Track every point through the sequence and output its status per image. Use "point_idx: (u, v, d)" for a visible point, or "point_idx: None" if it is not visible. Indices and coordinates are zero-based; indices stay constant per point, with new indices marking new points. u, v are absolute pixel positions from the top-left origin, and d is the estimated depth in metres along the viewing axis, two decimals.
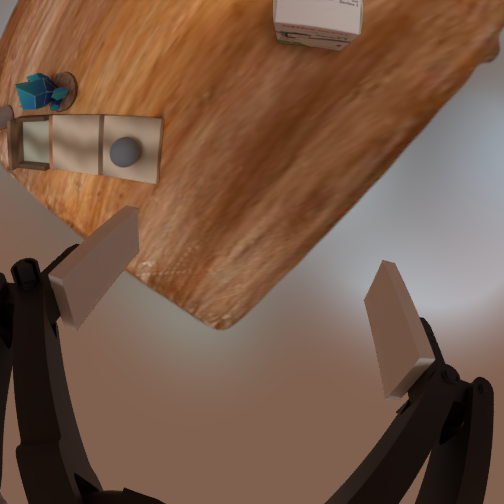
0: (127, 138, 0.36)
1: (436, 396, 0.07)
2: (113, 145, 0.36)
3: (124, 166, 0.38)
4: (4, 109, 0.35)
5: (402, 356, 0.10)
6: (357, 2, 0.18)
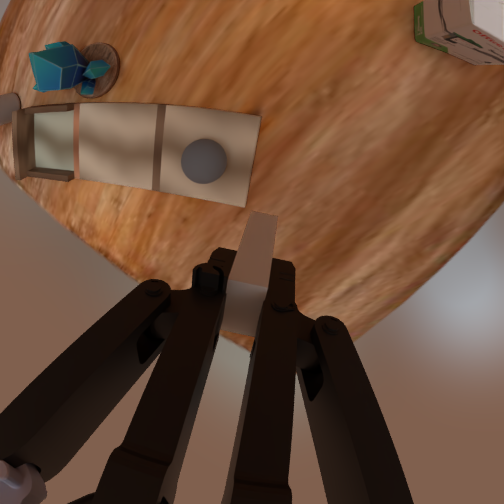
0: (210, 141, 0.26)
1: (274, 331, 0.09)
2: (190, 150, 0.26)
3: (205, 182, 0.27)
4: (8, 97, 0.26)
5: None
6: None
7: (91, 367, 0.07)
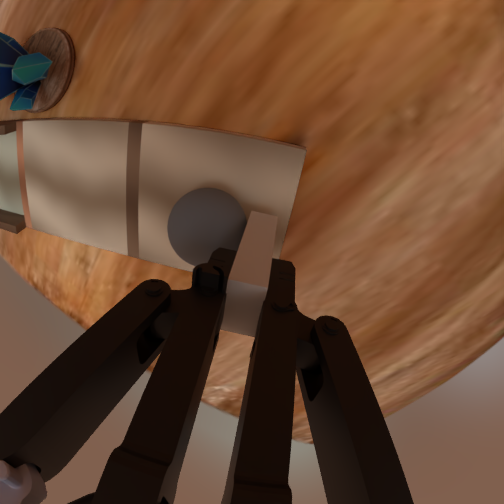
0: (219, 194, 0.15)
1: (274, 331, 0.09)
2: (182, 213, 0.15)
3: None
4: None
5: None
6: None
7: (91, 367, 0.07)
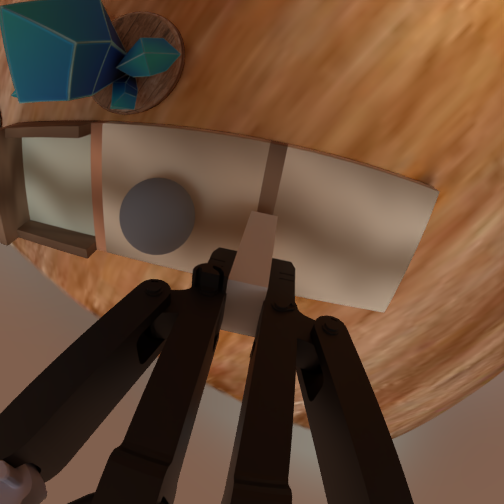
0: (170, 180, 0.16)
1: (274, 331, 0.09)
2: (176, 208, 0.15)
3: None
4: None
5: None
6: None
7: (91, 367, 0.07)
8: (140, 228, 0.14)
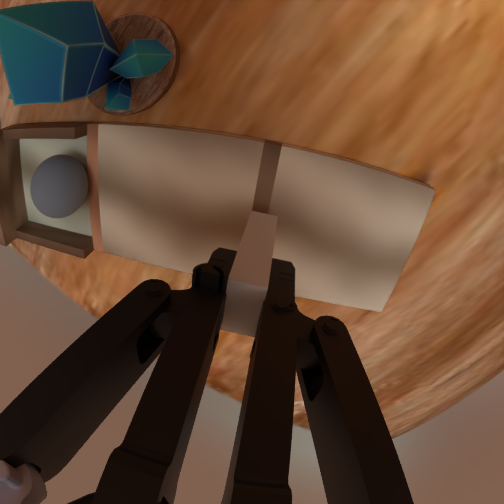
0: (47, 160, 0.15)
1: (274, 331, 0.09)
2: None
3: None
4: None
5: None
6: None
7: (91, 367, 0.07)
8: None
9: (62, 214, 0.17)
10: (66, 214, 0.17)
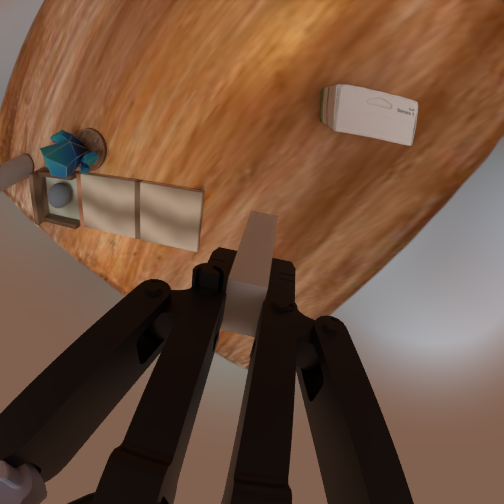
0: (54, 184, 0.41)
1: (274, 331, 0.09)
2: (66, 185, 0.43)
3: None
4: (23, 159, 0.40)
5: None
6: (413, 110, 0.22)
7: (91, 367, 0.07)
8: (69, 193, 0.43)
9: (53, 206, 0.41)
10: (55, 207, 0.42)
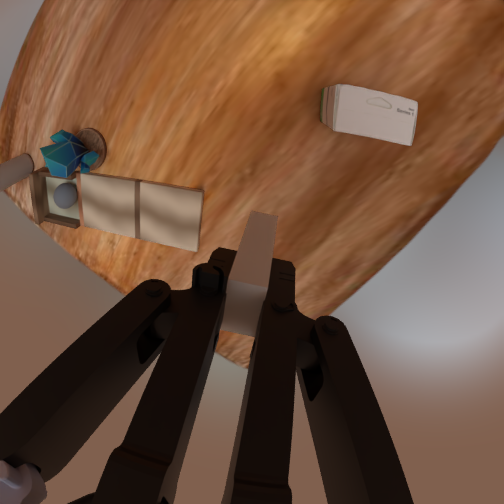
0: (59, 185, 0.41)
1: (274, 331, 0.09)
2: None
3: None
4: (23, 159, 0.40)
5: None
6: (413, 110, 0.22)
7: (91, 367, 0.07)
8: None
9: (66, 206, 0.42)
10: (67, 206, 0.42)
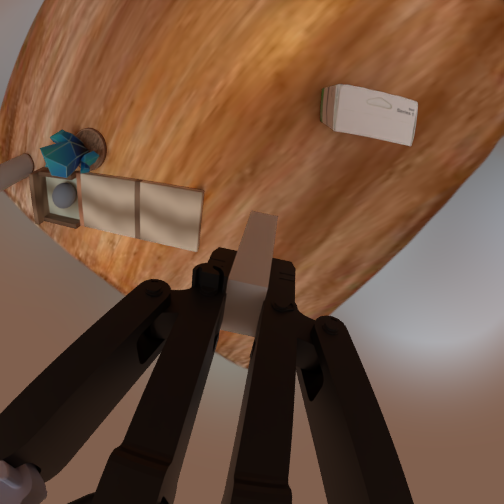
0: None
1: (274, 331, 0.09)
2: None
3: None
4: (23, 159, 0.40)
5: None
6: (413, 111, 0.22)
7: (91, 367, 0.07)
8: None
9: (63, 206, 0.42)
10: (64, 206, 0.42)
